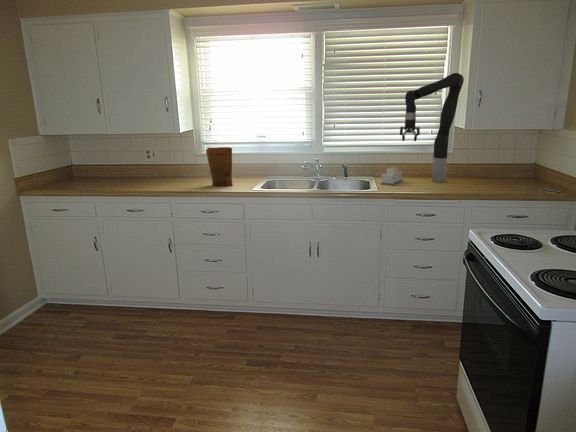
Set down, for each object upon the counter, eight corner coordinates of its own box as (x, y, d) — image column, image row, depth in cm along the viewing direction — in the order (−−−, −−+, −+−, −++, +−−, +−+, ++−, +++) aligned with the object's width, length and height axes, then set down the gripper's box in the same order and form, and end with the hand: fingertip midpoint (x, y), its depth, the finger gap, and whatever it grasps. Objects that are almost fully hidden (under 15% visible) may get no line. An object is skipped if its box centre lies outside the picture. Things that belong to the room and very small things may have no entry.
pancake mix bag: (232, 187, 306) (230, 147, 298) (207, 186, 311) (205, 147, 303) (235, 185, 312) (233, 146, 305) (211, 184, 317) (209, 146, 310)
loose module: (397, 180, 312) (398, 167, 310) (392, 182, 305) (393, 169, 303) (390, 179, 315) (391, 167, 313) (386, 181, 308) (386, 168, 305)
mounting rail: (402, 181, 316) (403, 171, 314) (392, 185, 300) (393, 175, 298) (390, 180, 321) (391, 170, 319) (380, 184, 305) (380, 174, 303)
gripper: (421, 118, 314) (420, 141, 319) (402, 118, 322) (401, 140, 326) (418, 119, 308) (417, 141, 313) (399, 119, 316) (398, 141, 320)
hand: (409, 141), depth 320 cm, fingers open, 8 cm apart
